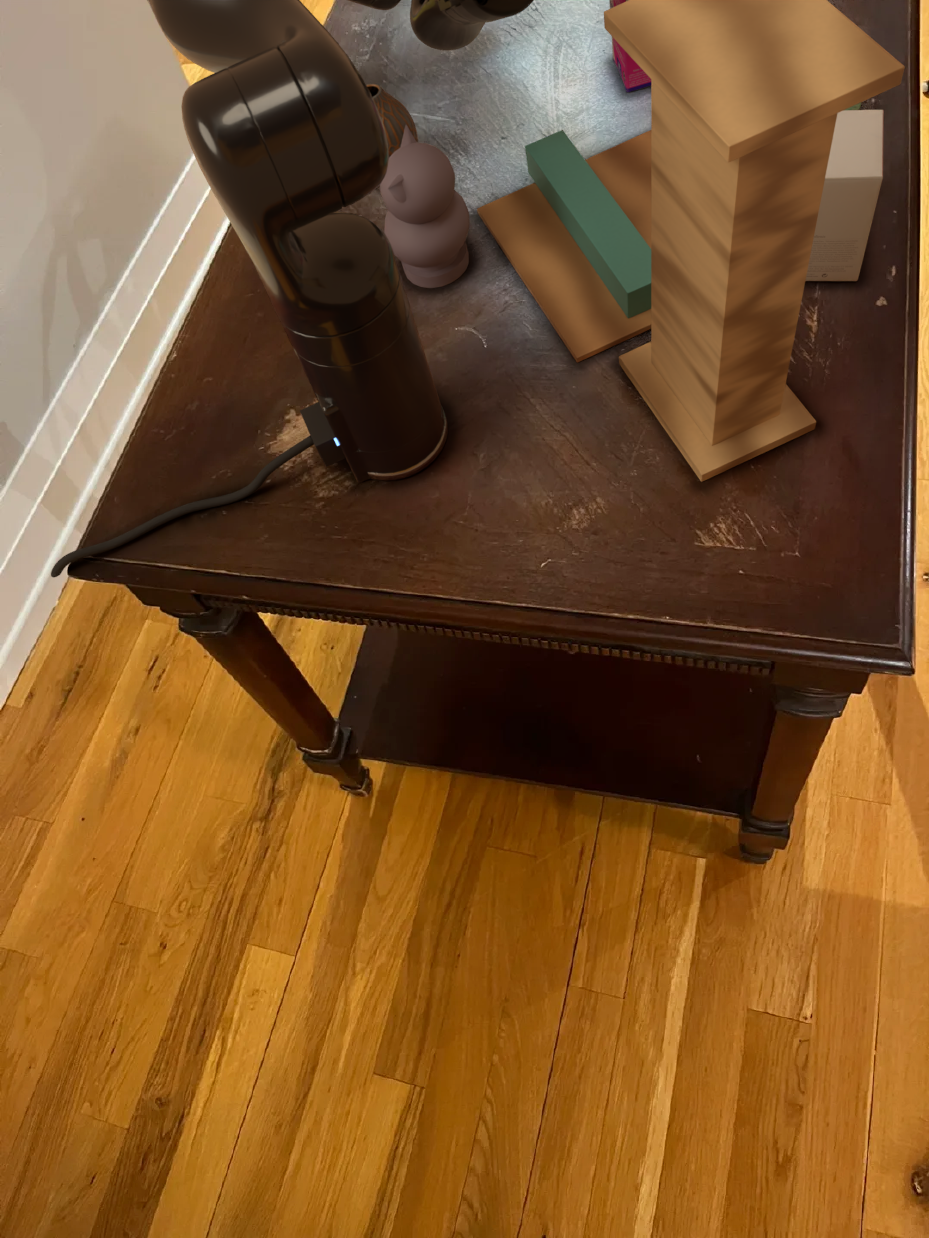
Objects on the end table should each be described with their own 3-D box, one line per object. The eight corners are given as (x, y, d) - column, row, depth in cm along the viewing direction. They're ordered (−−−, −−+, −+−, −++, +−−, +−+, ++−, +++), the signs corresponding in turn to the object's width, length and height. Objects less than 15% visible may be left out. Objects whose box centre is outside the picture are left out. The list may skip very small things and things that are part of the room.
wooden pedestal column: (701, 482, 74) (729, 146, 47) (619, 364, 80) (603, 11, 54) (814, 429, 74) (905, 66, 48) (723, 316, 81) (758, -59, 54)
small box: (857, 284, 80) (884, 178, 70) (788, 283, 81) (806, 179, 72) (860, 216, 83) (886, 106, 74) (793, 216, 84) (811, 109, 75)
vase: (351, 164, 98) (325, 85, 90) (411, 138, 98) (391, 58, 91) (371, 203, 95) (346, 125, 87) (433, 177, 95) (414, 96, 87)
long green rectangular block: (628, 319, 82) (627, 293, 79) (528, 173, 92) (524, 146, 89) (669, 300, 82) (670, 274, 79) (565, 156, 92) (562, 129, 89)
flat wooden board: (577, 363, 81) (576, 358, 81) (477, 213, 92) (476, 208, 91) (783, 268, 82) (784, 262, 81) (661, 130, 92) (661, 124, 92)
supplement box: (610, 61, 98) (605, -56, 88) (665, 45, 98) (667, -74, 88) (624, 95, 95) (621, -22, 85) (681, 79, 95) (685, -41, 85)
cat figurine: (470, 297, 87) (445, 188, 76) (389, 298, 89) (354, 191, 78) (483, 230, 90) (461, 117, 80) (405, 232, 92) (374, 122, 82)
